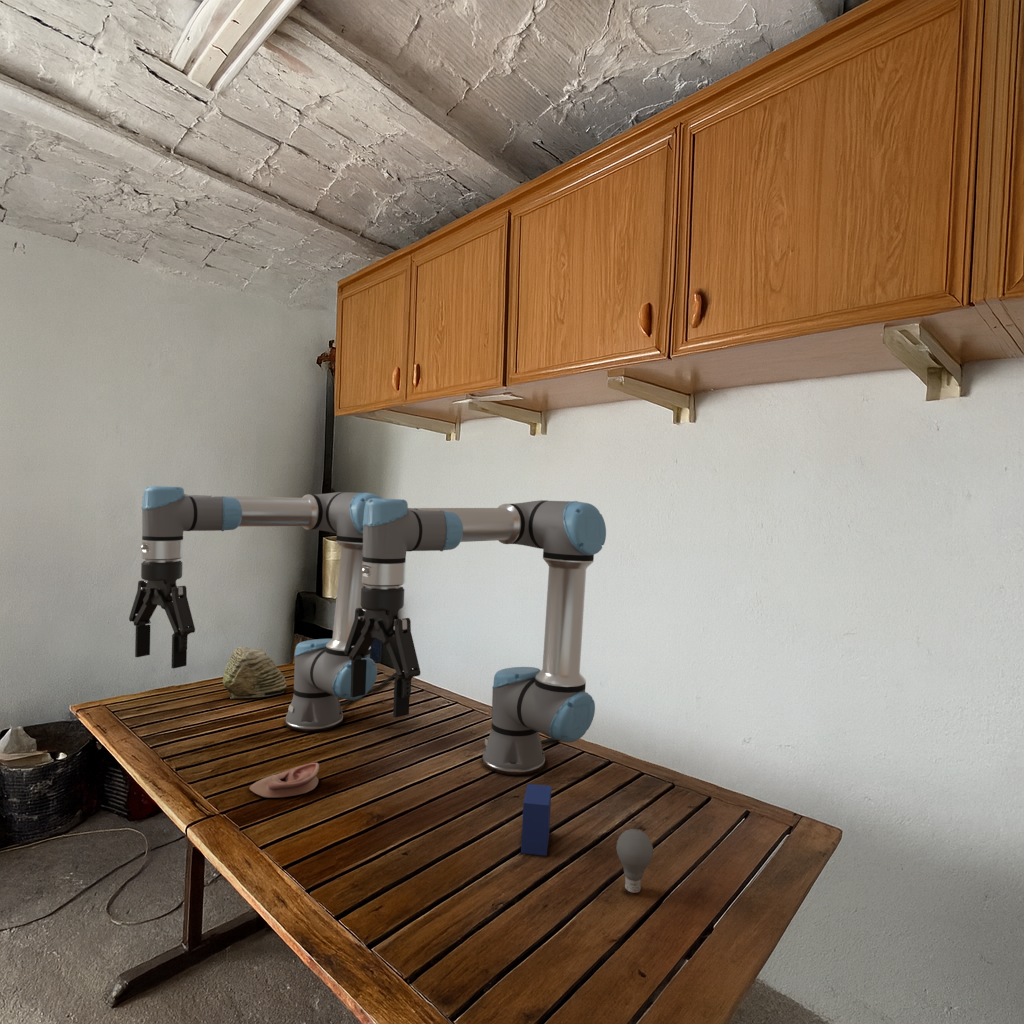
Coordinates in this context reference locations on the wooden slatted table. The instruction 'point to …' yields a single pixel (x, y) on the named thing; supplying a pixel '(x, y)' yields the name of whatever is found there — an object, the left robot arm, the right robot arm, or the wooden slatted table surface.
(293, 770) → the anatomical model
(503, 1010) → the wooden slatted table surface
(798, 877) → the wooden slatted table surface
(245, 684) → the fossil
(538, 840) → the brick
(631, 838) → the light bulb
